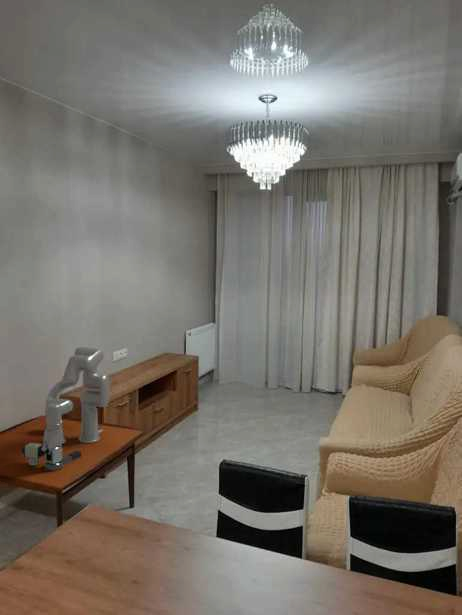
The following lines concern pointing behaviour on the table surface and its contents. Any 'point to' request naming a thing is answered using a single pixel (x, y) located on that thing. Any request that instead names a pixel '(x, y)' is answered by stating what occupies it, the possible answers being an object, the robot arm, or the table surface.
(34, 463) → the pneumatic valve
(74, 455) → the ratchet
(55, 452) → the domed grey cube
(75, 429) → the table surface
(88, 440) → the robot arm
